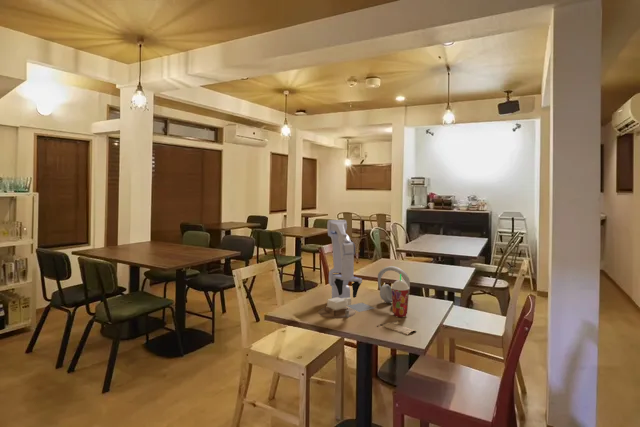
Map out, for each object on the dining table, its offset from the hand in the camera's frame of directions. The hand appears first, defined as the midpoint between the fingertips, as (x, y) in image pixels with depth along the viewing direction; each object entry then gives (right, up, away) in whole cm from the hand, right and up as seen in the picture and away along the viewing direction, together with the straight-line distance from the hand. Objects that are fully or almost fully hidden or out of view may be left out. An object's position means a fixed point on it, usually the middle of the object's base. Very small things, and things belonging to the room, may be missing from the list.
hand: (347, 295), depth 185 cm
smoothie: (+25, -10, 0) cm, 27 cm away
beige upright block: (-3, -8, +3) cm, 9 cm away
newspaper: (+18, -11, -14) cm, 25 cm away
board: (-1, -9, +4) cm, 10 cm away
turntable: (-5, -9, +1) cm, 11 cm away
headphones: (+25, -8, +17) cm, 32 cm away
